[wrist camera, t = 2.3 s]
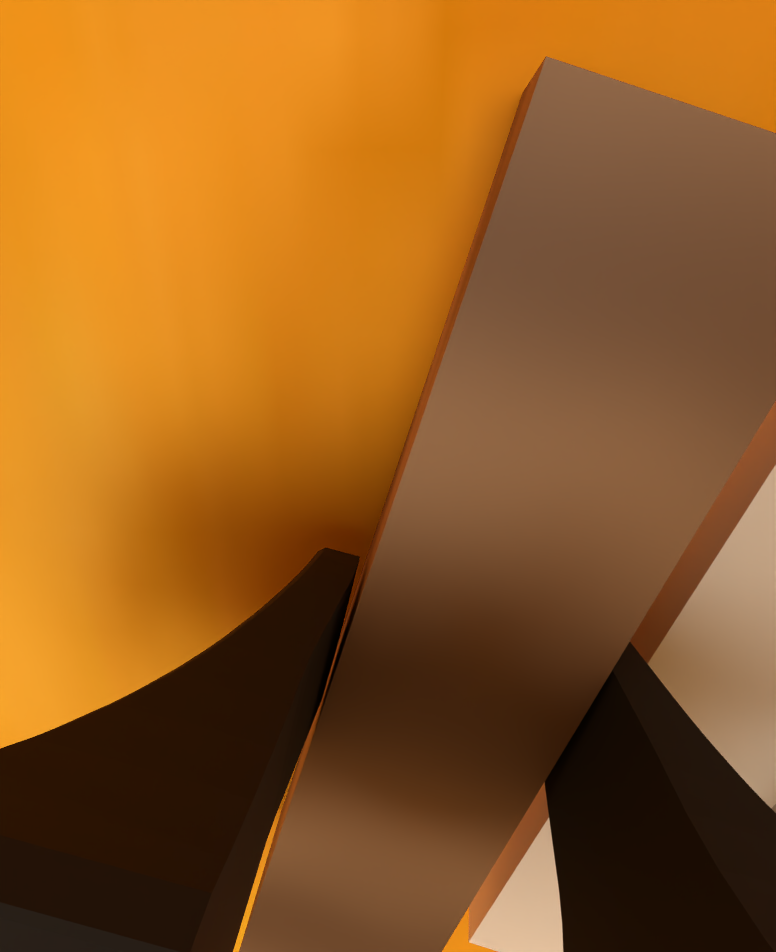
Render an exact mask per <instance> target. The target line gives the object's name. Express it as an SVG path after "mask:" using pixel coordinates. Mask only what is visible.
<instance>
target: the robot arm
mask: <svg viewBox="0 0 776 952" xmlns="http://www.w3.org/2000/svg"><path fill="white" fill-rule="evenodd" d="M359 558H360V557H359V556H355V555H351V554H347V553H344V552H340V551H336V550H332V549H329V548H324V549H322V550H320V551H318V552H317V554H316V555H315V556H314V558H313V559H312V560H311V561H310V562H309V563H308V564H307V566H306V567H305V568H304V569H303V570H302V571H301V572H300V573H299V574H298V575H297V576H296V577H295V578H294V579H293V580H292V581H291V582H290V583H289V584H288V585H287V586H286V587H285V588H284V589H282V590H281V591H280V592H279V593H278V594H277V595H276V596H275V597H273V598H272V599H271V600H270V601H269V602H268V603H267V604H266V605H264V606H263V607H262V608H261V609H260V610H259V611H257V612H256V613H255V614H254V615H252V616H251V617H250V618H248V619H247V620H246V621H244V622H243V623H242V624H241V625H239V626H238V627H237V628H235V629H234V630H233V631H231V632H230V633H229V634H228V635H226V636H225V637H224V638H222V639H221V640H219V641H218V642H216V643H215V644H214V645H212V646H211V647H209V648H208V649H206V650H205V651H203V652H202V653H200V654H199V655H197V656H195V657H194V658H192V659H191V660H189V661H188V662H186V663H184V664H183V665H181V666H180V667H178V668H176V669H175V670H173V671H171V672H169V673H167V674H166V675H164V676H162V677H160V678H159V679H157V680H155V681H153V682H151V683H150V684H148V685H146V686H144V687H142V688H141V689H139V690H137V691H135V692H133V693H131V694H129V695H127V696H125V697H123V698H121V699H119V700H117V701H115V702H113V703H111V704H109V705H107V706H104V707H102V708H100V709H98V710H95V711H93V712H91V713H89V714H86V715H84V716H82V717H80V718H77V719H75V720H73V721H71V722H68V723H66V724H64V725H62V726H59V727H57V728H55V729H52V730H50V731H47V732H45V733H43V734H40V735H37V736H35V737H32V738H29V739H27V740H24V741H21V742H18V743H15V744H12V745H9V746H6V747H4V748H1V749H0V952H233V949H234V946H235V943H236V939H237V936H238V933H239V929H240V926H241V923H242V919H243V916H244V913H245V909H246V906H247V903H248V900H249V896H250V893H251V890H252V886H253V883H254V880H255V877H256V873H257V870H258V867H259V863H260V860H261V857H262V854H263V850H264V847H265V844H266V841H267V838H268V835H269V832H270V830H271V827H272V824H273V821H274V818H275V816H276V813H277V811H278V808H279V806H280V803H281V801H282V798H283V796H284V793H285V791H286V788H287V786H288V783H289V781H290V778H291V776H292V773H293V771H294V768H295V766H296V763H297V761H298V758H299V756H300V753H301V751H302V748H303V746H304V743H305V741H306V738H307V736H308V733H309V731H310V728H311V726H312V723H313V721H314V718H315V716H316V713H317V711H318V708H319V706H320V703H321V701H322V698H323V695H324V691H325V688H326V684H327V681H328V677H329V674H330V670H331V667H332V663H333V660H334V656H335V653H336V649H337V645H338V641H339V637H340V633H341V629H342V626H343V622H344V618H345V614H346V610H347V606H348V602H349V598H350V594H351V590H352V586H353V582H354V578H355V574H356V570H357V566H358V562H359ZM545 790H546V798H547V806H548V813H549V820H550V828H551V835H552V843H553V850H554V858H555V865H556V872H557V880H558V887H559V896H560V907H561V917H562V933H563V952H776V813H775V812H774V811H773V810H772V809H771V808H770V807H769V806H768V805H767V804H766V803H765V802H764V801H763V800H762V799H761V798H760V797H759V796H758V794H757V793H756V792H755V791H754V790H753V789H752V788H751V787H750V786H749V785H748V784H747V783H746V782H745V781H744V780H743V778H742V777H741V776H740V775H739V774H738V773H737V772H736V771H735V769H734V768H733V767H732V766H731V765H730V764H729V763H728V762H727V760H726V759H725V758H724V757H723V756H722V755H721V754H720V753H719V751H718V750H717V749H716V748H715V747H714V746H713V745H712V743H711V742H710V741H709V740H708V739H707V738H706V736H705V735H704V734H703V733H702V732H701V730H700V729H699V728H698V727H697V726H696V724H695V723H694V722H693V721H692V720H691V718H690V717H689V716H688V715H687V713H686V712H685V711H684V710H683V708H682V707H681V706H680V705H679V703H678V702H677V701H676V700H675V698H674V697H673V696H672V695H671V693H670V692H669V691H668V690H667V688H666V687H665V686H664V685H663V683H662V682H661V681H660V679H659V678H658V677H657V676H656V674H655V673H654V672H653V670H652V669H651V668H650V667H649V665H648V664H647V663H646V661H645V660H644V659H643V657H642V656H641V655H640V654H639V652H638V651H637V650H636V649H635V647H634V646H633V645H632V644H631V642H629V643H628V645H627V647H626V648H625V650H624V652H623V653H622V655H621V657H620V658H619V660H618V662H617V663H616V665H615V666H614V668H613V670H612V671H611V673H610V675H609V676H608V678H607V680H606V681H605V683H604V685H603V686H602V688H601V690H600V691H599V693H598V695H597V696H596V698H595V699H594V701H593V703H592V704H591V706H590V708H589V709H588V711H587V713H586V714H585V716H584V718H583V719H582V721H581V723H580V724H579V726H578V727H577V729H576V731H575V732H574V734H573V736H572V737H571V739H570V741H569V742H568V744H567V746H566V747H565V749H564V751H563V752H562V754H561V755H560V757H559V759H558V760H557V762H556V764H555V765H554V767H553V769H552V770H551V772H550V774H549V775H548V777H547V779H546V780H545Z"/></svg>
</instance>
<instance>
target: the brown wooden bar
mask: <svg viewBox="0 0 776 952" xmlns="http://www.w3.org/2000/svg"><path fill="white" fill-rule="evenodd" d="M775 401H776V133H773V132H770V131H767V130H764V129H761V128H758V127H755V126H752V125H749V124H746V123H743V122H740V121H737V120H734V119H731V118H728V117H726V116H723V115H720V114H717V113H714V112H711V111H708V110H705V109H702V108H699V107H696V106H693V105H690V104H687V103H684V102H681V101H678V100H675V99H672V98H669V97H666V96H663V95H660V94H657V93H654V92H651V91H648V90H645V89H642V88H639V87H636V86H633V85H630V84H627V83H624V82H621V81H618V80H615V79H612V78H609V77H606V76H603V75H600V74H597V73H594V72H591V71H588V70H585V69H582V68H579V67H576V66H573V65H570V64H567V63H564V62H561V61H558V60H555V59H552V58H549V57H545V59H544V61H543V62H542V64H541V65H540V67H539V68H538V70H537V71H536V73H535V75H534V76H533V78H532V79H531V81H530V82H529V84H528V85H527V87H526V89H525V90H524V92H523V94H522V97H521V100H520V103H519V106H518V109H517V112H516V115H515V118H514V121H513V124H512V127H511V129H510V132H509V135H508V138H507V141H506V144H505V147H504V150H503V153H502V156H501V159H500V162H499V165H498V168H497V171H496V174H495V177H494V180H493V183H492V186H491V189H490V192H489V195H488V198H487V201H486V204H485V207H484V210H483V213H482V216H481V219H480V222H479V225H478V228H477V231H476V234H475V237H474V240H473V243H472V246H471V249H470V252H469V254H468V257H467V260H466V263H465V266H464V269H463V272H462V275H461V278H460V281H459V284H458V287H457V290H456V293H455V296H454V299H453V302H452V305H451V308H450V311H449V314H448V317H447V320H446V323H445V326H444V329H443V332H442V335H441V338H440V341H439V344H438V347H437V350H436V353H435V356H434V359H433V362H432V365H431V368H430V371H429V374H428V377H427V379H426V382H425V385H424V388H423V391H422V394H421V397H420V400H419V403H418V406H417V409H416V412H415V415H414V418H413V421H412V424H411V427H410V430H409V433H408V436H407V439H406V442H405V445H404V448H403V451H402V454H401V457H400V460H399V463H398V466H397V469H396V472H395V475H394V478H393V481H392V484H391V487H390V490H389V493H388V496H387V499H386V502H385V504H384V507H383V510H382V513H381V516H380V519H379V522H378V525H377V528H376V531H375V534H374V537H373V540H372V543H371V546H370V549H369V552H368V555H367V558H366V561H365V564H364V567H363V570H362V573H361V576H360V579H359V582H358V585H357V588H356V591H355V594H354V597H353V600H352V603H351V606H350V609H349V612H348V615H347V618H346V621H345V624H344V627H343V629H342V632H341V635H340V638H339V641H338V645H337V649H336V653H335V656H334V660H333V663H332V667H331V670H330V674H329V677H328V681H327V684H326V688H325V691H324V695H323V698H322V701H321V703H320V706H319V708H318V711H317V713H316V716H315V718H314V721H313V723H312V726H311V728H310V731H309V733H308V736H307V738H306V741H305V743H304V746H303V749H302V752H301V754H300V757H299V760H298V763H297V766H296V769H295V772H294V775H293V778H292V781H291V784H290V787H289V790H288V793H287V796H286V799H285V802H284V805H283V808H282V811H281V814H280V818H279V821H278V824H277V828H276V831H275V834H274V838H273V841H272V844H271V848H270V851H269V854H268V858H267V861H266V864H265V867H264V871H263V874H262V877H261V881H260V884H259V887H258V891H257V894H256V897H255V901H254V904H253V907H252V911H251V914H250V917H249V921H248V924H247V927H246V931H245V934H244V937H243V941H242V944H241V947H240V950H239V952H442V950H443V948H444V947H445V945H446V943H447V942H448V940H449V938H450V937H451V935H452V934H453V932H454V930H455V929H456V927H457V925H458V924H459V922H460V920H461V919H462V917H463V915H464V914H465V912H466V910H467V909H468V907H469V906H470V904H471V902H472V901H473V899H474V897H475V896H476V894H477V892H478V891H479V889H480V887H481V886H482V884H483V882H484V881H485V879H486V877H487V876H488V874H489V873H490V871H491V869H492V868H493V866H494V864H495V863H496V861H497V859H498V858H499V856H500V854H501V853H502V851H503V849H504V848H505V846H506V845H507V843H508V841H509V840H510V838H511V836H512V835H513V833H514V831H515V830H516V828H517V826H518V825H519V823H520V821H521V820H522V818H523V816H524V815H525V813H526V812H527V810H528V808H529V807H530V805H531V803H532V802H533V800H534V798H535V797H536V795H537V793H538V792H539V790H540V788H541V787H542V785H543V784H544V782H545V780H546V779H547V777H548V775H549V774H550V772H551V770H552V769H553V767H554V765H555V764H556V762H557V760H558V759H559V757H560V755H561V754H562V752H563V751H564V749H565V747H566V746H567V744H568V742H569V741H570V739H571V737H572V736H573V734H574V732H575V731H576V729H577V727H578V726H579V724H580V723H581V721H582V719H583V718H584V716H585V714H586V713H587V711H588V709H589V708H590V706H591V704H592V703H593V701H594V699H595V698H596V696H597V695H598V693H599V691H600V690H601V688H602V686H603V685H604V683H605V681H606V680H607V678H608V676H609V675H610V673H611V671H612V670H613V668H614V666H615V665H616V663H617V662H618V660H619V658H620V657H621V655H622V653H623V652H624V650H625V648H626V647H627V645H628V643H629V642H630V640H631V638H632V637H633V635H634V634H635V632H636V630H637V629H638V627H639V625H640V624H641V622H642V620H643V619H644V617H645V615H646V614H647V612H648V610H649V609H650V607H651V605H652V604H653V602H654V601H655V599H656V597H657V596H658V594H659V592H660V591H661V589H662V587H663V586H664V584H665V582H666V581H667V579H668V577H669V576H670V574H671V573H672V571H673V569H674V568H675V566H676V564H677V563H678V561H679V559H680V558H681V556H682V554H683V553H684V551H685V549H686V548H687V546H688V544H689V543H690V541H691V540H692V538H693V536H694V535H695V533H696V531H697V530H698V528H699V526H700V525H701V523H702V521H703V520H704V518H705V516H706V515H707V513H708V512H709V510H710V508H711V507H712V505H713V503H714V502H715V500H716V498H717V497H718V495H719V493H720V492H721V490H722V488H723V487H724V485H725V483H726V482H727V480H728V479H729V477H730V475H731V474H732V472H733V470H734V469H735V467H736V465H737V464H738V462H739V460H740V459H741V457H742V455H743V454H744V452H745V451H746V449H747V447H748V446H749V444H750V442H751V441H752V439H753V437H754V436H755V434H756V432H757V431H758V429H759V427H760V426H761V424H762V422H763V421H764V419H765V418H766V416H767V414H768V413H769V411H770V409H771V408H772V406H773V404H774V403H775Z"/></svg>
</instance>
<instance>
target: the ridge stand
mask: <svg viewBox="0 0 776 952" xmlns="http://www.w3.org/2000/svg"><path fill="white" fill-rule="evenodd" d="M630 642H631V644H632V645H633V646H634V647H635V649H636V650H637V651H638V652H639V654H640V655H641V656H642V657H643V659H644V660H645V661H646V663H647V664H648V665H649V667H650V668H651V669H652V670H653V672H654V673H655V674H656V676H657V677H658V678H659V679H660V681H661V682H662V683H663V685H664V686H665V687H666V688H667V690H668V691H669V692H670V693H671V695H672V696H673V697H674V698H675V700H676V701H677V702H678V703H679V705H680V706H681V707H682V708H683V710H684V711H685V712H686V713H687V715H688V716H689V717H690V718H691V720H692V721H693V722H694V723H695V724H696V726H697V727H698V728H699V729H700V730H701V732H702V733H703V734H704V735H705V736H706V738H707V739H708V740H709V741H710V742H711V743H712V745H713V746H714V747H715V748H716V749H717V750H718V751H719V753H720V754H721V755H722V756H723V757H724V758H725V759H726V760H727V762H728V763H729V764H730V765H731V766H732V767H733V768H734V769H735V771H736V772H737V773H738V774H739V775H740V776H741V777H742V778H743V780H744V781H745V782H746V783H747V784H748V785H749V786H750V787H751V788H752V789H753V790H754V791H755V792H756V793H757V794H758V796H759V797H760V798H761V799H762V800H763V801H764V802H765V803H766V804H767V805H768V806H769V807H770V808H771V809H772V810H773V811H774V812H775V813H776V401H775V403H774V404H773V406H772V408H771V409H770V411H769V413H768V414H767V416H766V418H765V419H764V421H763V422H762V424H761V426H760V427H759V429H758V431H757V432H756V434H755V436H754V437H753V439H752V441H751V442H750V444H749V446H748V447H747V449H746V451H745V452H744V454H743V455H742V457H741V459H740V460H739V462H738V464H737V465H736V467H735V469H734V470H733V472H732V474H731V475H730V477H729V479H728V480H727V482H726V483H725V485H724V487H723V488H722V490H721V492H720V493H719V495H718V497H717V498H716V500H715V502H714V503H713V505H712V507H711V508H710V510H709V512H708V513H707V515H706V516H705V518H704V520H703V521H702V523H701V525H700V526H699V528H698V530H697V531H696V533H695V535H694V536H693V538H692V540H691V541H690V543H689V544H688V546H687V548H686V549H685V551H684V553H683V554H682V556H681V558H680V559H679V561H678V563H677V564H676V566H675V568H674V569H673V571H672V573H671V574H670V576H669V577H668V579H667V581H666V582H665V584H664V586H663V587H662V589H661V591H660V592H659V594H658V596H657V597H656V599H655V601H654V602H653V604H652V605H651V607H650V609H649V610H648V612H647V614H646V615H645V617H644V619H643V620H642V622H641V624H640V625H639V627H638V629H637V630H636V632H635V634H634V635H633V637H632V638H631V640H630ZM469 942H470V943H473V944H476V945H479V946H483V947H486V948H489V949H492V950H495V951H498V952H563V933H562V917H561V907H560V896H559V887H558V880H557V872H556V865H555V858H554V850H553V843H552V835H551V828H550V820H549V813H548V806H547V798H546V790H545V782H544V784H543V785H542V787H541V788H540V790H539V792H538V793H537V795H536V797H535V798H534V800H533V802H532V803H531V805H530V807H529V808H528V810H527V812H526V813H525V815H524V816H523V818H522V820H521V821H520V823H519V825H518V826H517V828H516V830H515V831H514V833H513V835H512V836H511V838H510V840H509V841H508V843H507V845H506V846H505V848H504V849H503V851H502V853H501V854H500V856H499V858H498V859H497V861H496V863H495V864H494V866H493V868H492V869H491V871H490V873H489V874H488V876H487V877H486V879H485V881H484V882H483V884H482V886H481V887H480V889H479V891H478V892H477V894H476V896H475V897H474V899H473V901H472V902H471V904H470V906H469Z"/></svg>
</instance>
